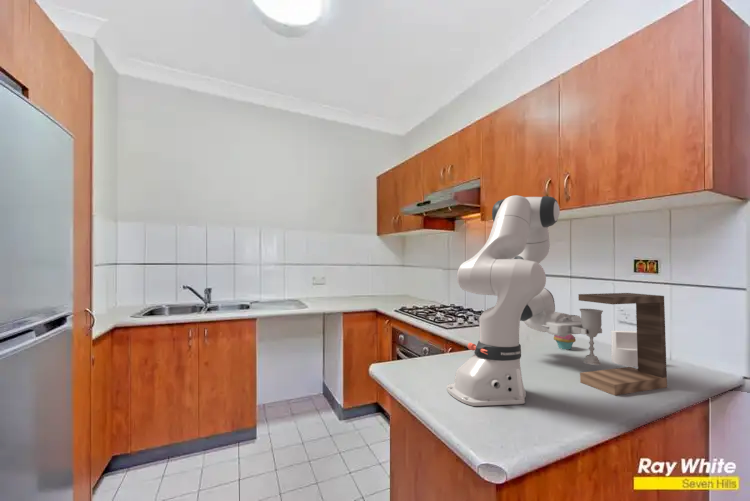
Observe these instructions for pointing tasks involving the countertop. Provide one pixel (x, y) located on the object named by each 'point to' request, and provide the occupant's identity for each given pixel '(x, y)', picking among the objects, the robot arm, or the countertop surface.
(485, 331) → the robot arm
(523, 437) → the countertop surface
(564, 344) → the cupcake
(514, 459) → the countertop surface
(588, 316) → the chalice
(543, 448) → the countertop surface
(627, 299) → the wooden c-shaped stand
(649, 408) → the countertop surface
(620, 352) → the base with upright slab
